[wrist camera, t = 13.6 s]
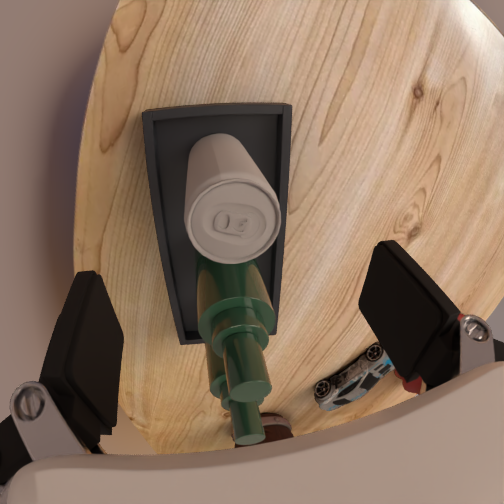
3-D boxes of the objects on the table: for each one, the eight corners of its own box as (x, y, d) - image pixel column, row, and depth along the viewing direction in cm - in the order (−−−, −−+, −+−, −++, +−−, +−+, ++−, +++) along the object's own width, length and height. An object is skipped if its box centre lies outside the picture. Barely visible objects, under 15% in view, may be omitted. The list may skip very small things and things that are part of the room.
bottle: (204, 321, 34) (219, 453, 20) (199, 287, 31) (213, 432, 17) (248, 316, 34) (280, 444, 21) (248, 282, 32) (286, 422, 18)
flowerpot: (308, 408, 54) (337, 492, 37) (265, 437, 59) (283, 511, 43) (251, 402, 48) (274, 504, 31) (210, 432, 53) (224, 517, 37)
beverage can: (236, 190, 26) (265, 272, 16) (182, 179, 24) (175, 258, 14) (252, 139, 23) (298, 190, 14) (196, 125, 22) (196, 165, 12)
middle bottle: (196, 265, 29) (208, 417, 16) (191, 219, 26) (197, 372, 13) (248, 261, 30) (291, 405, 17) (248, 214, 27) (302, 358, 14)
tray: (180, 332, 35) (180, 345, 33) (145, 109, 21) (141, 112, 19) (272, 322, 37) (276, 334, 35) (285, 103, 23) (292, 105, 21)
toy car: (398, 347, 47) (411, 367, 43) (327, 396, 52) (335, 416, 48) (385, 334, 44) (398, 356, 40) (306, 389, 48) (314, 411, 44)
